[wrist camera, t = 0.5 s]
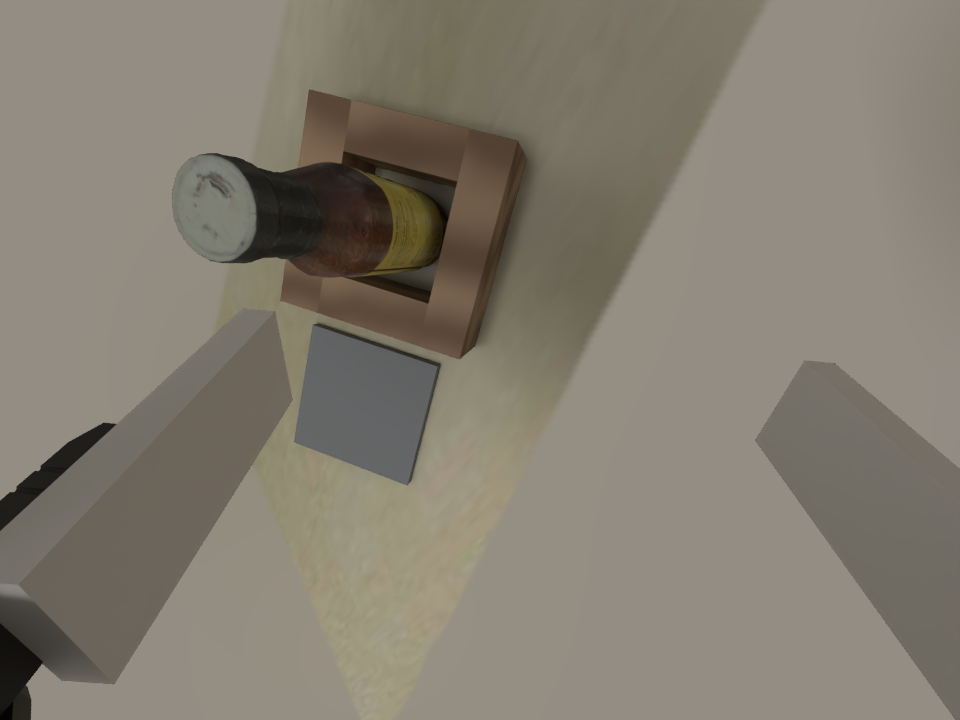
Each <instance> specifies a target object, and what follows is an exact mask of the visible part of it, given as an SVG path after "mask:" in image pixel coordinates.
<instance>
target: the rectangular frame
mask: <svg viewBox="0 0 960 720" xmlns="http://www.w3.org/2000/svg"><path fill="white" fill-rule="evenodd" d="M321 162H334V163H340V164H343V165H346V166H350V167H353V168H356V169H359V170H362V171H364V172H367V173H370V174H373V175H374V173H375V168H376V166H377V167H380V168H384V169H388V170H391V171H395V172H399V173H403V174H406V175H410V176H414V177H418V178H421V179H425V180H429V181H432V182H436V183H440V184H444V185H447V186H451V187H455V188H456V190H455V194H454V198H453V202H452V207H451V211H450V215H449V219H448V224H447V228H446V232H445V236H444V240H443V245H442V249H441V253H440V257H439V262H438V266H437V270H436V274H435V279H434V283H433V287H432V291H431V293H430V292H427V291H424V290H421V289H417V288H414V287H411V286H408V285H404V284H401V283H398V282H395V281H391V280H388V279H385V278H382V277H378V276H375V275H370V276H361V277H344V276H342V277H335V278H334V277H332V278H323V277H319V276H310V275H308V274H306V273H304V272H303V271H301V270H299V269H298V268H296V267H295V266H294V265H293V264H292V263H291V262H289V261H288V260H287V259H286V263H285V271H284V278H283V285H282V293H281V301H284V302H287V303H290V304H293V305H296V306H299V307H302V308H305V309H308V310H311V311H314V312H317V313H320V314H323V315H326V316H329V317H332V318H335V319H338V320H341V321H344V322H347V323H351V324H354V325H357V326H360V327H363V328H366V329H369V330H372V331H375V332H378V333H381V334H384V335H387V336H390V337H393V338H396V339H399V340H402V341H405V342H408V343H411V344H414V345H417V346H420V347H423V348H426V349H429V350H433V351H436V352H439V353H442V354H445V355H448V356H451V357H454V358H457V359H460V358H462V357H463V356H464V355H465V354H466V353H467V352H469V351H470V350H471V349H472V348H473V347H475V344H476V340H477V337H478V333H479V330H480V326H481V322H482V319H483V315H484V311H485V308H486V304H487V301H488V297H489V293H490V290H491V286H492V282H493V279H494V275H495V272H496V268H497V264H498V261H499V257H500V253H501V250H502V246H503V243H504V239H505V235H506V232H507V228H508V224H509V221H510V217H511V214H512V210H513V206H514V203H515V199H516V195H517V192H518V188H519V185H520V181H521V177H522V174H523V170H524V166H525V163H526V156H525V154H524V152H523V150H522V148H521V146H520V144H519V142H518V141H517V140H513V139H509V138H505V137H501V136H497V135H493V134H488V133H484V132H480V131H476V130H472V129H468V128H464V127H460V126H456V125H452V124H448V123H444V122H440V121H436V120H431V119H427V118H423V117H419V116H415V115H411V114H407V113H403V112H399V111H395V110H391V109H387V108H383V107H379V106H375V105H370V104H366V103H362V102H358V101H354V100H350V99H346V98H342V97H338V96H334V95H330V94H326V93H322V92H318V91H313V90H309V94H308V101H307V109H306V116H305V123H304V131H303V138H302V145H301V153H300V160H299V168H300V167H304V166H308V165H312V164H315V163H321Z"/></svg>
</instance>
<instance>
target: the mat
mask: <svg viewBox="0 0 960 720" xmlns="http://www.w3.org/2000/svg"><path fill="white" fill-rule="evenodd" d="M439 368H440V364H438V363H435V362H432V361H429V360H426V359H423V358H420V357H417V356H414V355H411V354H408V353H405V352H402V351H399V350H396V349H393V348H390V347H387V346H384V345H381V344H378V343H375V342H372V341H369V340H366V339H363V338H360V337H357V336H354V335H351V334H348V333H345V332H342V331H339V330H336V329H333V328H330V327H327V326H324V325H321V324H314V325H313V328H312V334H311V340H310V346H309V353H308V359H307V365H306V371H305V377H304V384H303V390H302V396H301V402H300V409H299V415H298V421H297V427H296V434H295V440H294V442H295V443H298V444H300V445H303V446H306V447H308V448H311V449H313V450H316V451H319V452H321V453H324V454H327V455H329V456H332V457H334V458H337V459H340V460H342V461H345V462H347V463H350V464H353V465H355V466H358V467H361V468H363V469H366V470H368V471H371V472H374V473H376V474H379V475H382V476H384V477H387V478H389V479H392V480H395V481H397V482H400V483H403V484H405V485H408V484H409V483H410V481H411V478H412V474H413V470H414V466H415V462H416V458H417V455H418V451H419V447H420V443H421V439H422V435H423V431H424V427H425V423H426V419H427V415H428V411H429V407H430V404H431V400H432V396H433V392H434V388H435V384H436V380H437V376H438V372H439Z"/></svg>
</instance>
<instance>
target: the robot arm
mask: <svg viewBox="0 0 960 720" xmlns="http://www.w3.org/2000/svg"><path fill="white" fill-rule="evenodd" d="M292 400H293V398H292V393H291V388H290V383H289V379H288V374H287V369H286V364H285V359H284V354H283V349H282V344H281V339H280V334H279V329H278V324H277V319H276V314H275V311H264V310H254V309H242V310H241V311H240V312H239V313H238V314H237V315H235V316H234V317H233V318H232V319H231V320H230V321H229V322H228V323H227V324H226V325H225V326H223V327H222V328H221V329H220V330H219V331H218V332H217V333H216V334H215V335H214V336H213V337H211V338H210V339H209V340H208V341H207V342H206V343H205V344H204V345H203V346H202V347H201V348H199V349H198V350H197V351H196V352H195V353H194V354H193V355H192V356H191V357H190V358H189V359H187V360H186V362H184V363H183V364H182V365H181V366H180V367H179V368H178V369H177V370H176V371H175V372H173V373H172V374H171V375H170V376H169V377H168V378H167V379H166V380H165V381H164V382H162V383H161V384H160V385H159V386H158V387H157V388H156V389H155V390H154V391H153V392H152V393H150V395H148V396H147V397H146V398H145V399H144V400H143V401H142V402H141V403H140V404H138V405H137V406H136V407H135V408H134V409H133V410H132V411H131V412H130V413H129V414H127V415H126V416H125V417H124V418H123V419H122V420H121V421H120V422H119V423H118V424H110V423H102V424H101V425H99V426H97V427H95V428H93V429H92V430H90V431H88V432H86V433H84V434H82V435H81V436H79V437H77V438H75V439H73V440H72V441H70V442H68V443H67V444H66V445H65V446H63V447H62V448H61V449H60V450H59V451H58V452H56V453H55V454H54V455H53V456H52V457H51V458H49V459H48V460H47V461H46V462H45V463H44V464H42V465H41V469H40V470H39V471H34V472H33V473H32V474H31V475H30V476H28V477H27V478H26V479H25V480H24V481H23V482H22V483H20V484H19V485H18V486H17V489H16V491H15V492H10V493H9V494H7V495H6V496H5V497H4V498H3V499H2V500H1V501H0V720H31V698H30V694H29V691H28V687H27V686H26V684H27V682H28V681H29V680H30V678H31V677H32V676H33V675H34V673H35V672H36V671H37V670H38V668H39V667H40V666H41V664H43V665H45V666H46V667H47V668H48V669H49V670H50V671H51V672H53V673H54V674H55V675H56V676H57V677H58V678H59V679H61V680H62V681H77V682H90V683H104V684H115V682H116V681H117V679H118V678H119V676H120V674H121V673H122V671H123V670H124V668H125V666H126V665H127V663H128V662H129V660H130V658H131V657H132V655H133V654H134V652H135V650H136V649H137V647H138V646H139V644H140V643H141V641H142V639H143V637H144V636H145V635H146V633H147V631H148V630H149V628H150V627H151V625H152V623H153V622H154V620H155V619H156V617H157V615H158V614H159V612H160V611H161V609H162V607H163V606H164V604H165V603H166V601H167V600H168V598H169V596H170V595H171V593H172V592H173V590H174V588H175V587H176V585H177V584H178V582H179V580H180V579H181V577H182V576H183V574H184V572H185V571H186V569H187V568H188V566H189V564H190V563H191V561H192V560H193V558H194V556H195V555H196V553H197V551H198V550H199V548H200V547H201V545H202V544H203V542H204V541H205V539H206V537H207V536H208V534H209V533H210V531H211V529H212V528H213V526H214V525H215V523H216V521H217V520H218V518H219V517H220V515H221V513H222V512H223V510H224V508H225V507H226V505H227V504H228V502H229V500H230V499H231V497H232V496H233V494H234V493H235V491H236V489H237V488H238V486H239V485H240V483H241V482H242V480H243V478H244V477H245V475H246V474H247V472H248V470H249V469H250V467H251V466H252V464H253V462H254V461H255V459H256V458H257V456H258V454H259V453H260V451H261V450H262V448H263V446H264V445H265V443H266V442H267V440H268V439H269V437H270V435H271V434H272V432H273V431H274V429H275V427H276V426H277V424H278V423H279V421H280V419H281V418H282V416H283V415H284V413H285V411H286V410H287V408H288V407H289V405H290V403H291V402H292ZM756 442H757V444H758V445H759V447H760V448H761V449H762V451H763V452H764V453H765V455H766V456H767V457H768V459H769V460H770V462H771V463H772V464H773V466H774V467H775V469H776V470H777V472H778V473H779V474H780V476H781V477H782V479H783V480H784V481H785V483H786V484H787V486H788V487H789V488H790V490H791V491H792V492H793V494H794V495H795V497H796V498H797V500H798V501H799V502H800V504H801V505H802V507H803V508H804V509H805V511H806V512H807V513H808V515H809V516H810V518H811V519H812V520H813V522H814V523H815V524H816V526H817V527H818V529H819V530H820V532H821V533H822V534H823V536H824V537H825V539H827V541H828V543H829V544H830V545H831V547H832V548H833V550H834V551H835V553H836V554H837V555H838V557H839V558H840V560H841V561H842V562H843V564H844V565H845V566H846V568H847V569H848V571H849V572H850V573H851V575H852V576H853V578H854V579H855V580H856V582H857V583H858V585H859V586H860V587H861V589H862V590H863V592H864V593H865V594H866V596H867V597H868V599H869V600H870V601H871V603H872V604H873V606H874V607H875V608H876V610H877V611H878V613H879V614H880V615H881V617H882V618H883V619H884V621H885V622H886V624H887V625H888V627H889V628H890V629H891V631H892V632H893V633H894V635H895V636H896V638H897V639H898V640H899V642H900V643H901V645H902V646H903V647H904V649H905V650H906V652H907V653H908V654H909V656H910V657H911V659H912V660H913V661H914V663H915V664H916V665H917V667H918V668H919V670H920V671H921V672H922V674H923V675H924V677H925V678H926V679H927V681H928V682H929V684H930V685H931V686H932V688H933V689H934V691H935V692H936V693H937V695H938V696H939V698H940V699H941V700H942V702H943V703H944V705H945V706H946V707H947V709H948V710H949V712H950V713H951V714H952V716H953V717H954V719H955V720H960V469H959V468H958V467H957V466H956V465H955V464H953V463H952V462H951V461H950V460H949V459H948V458H946V457H945V456H944V455H943V454H942V453H940V452H939V451H938V450H937V449H935V448H934V447H933V446H932V445H931V444H930V443H928V442H927V441H926V440H925V439H924V438H923V437H921V436H920V435H919V434H918V433H917V432H915V431H914V430H913V429H912V428H911V427H910V426H908V425H907V424H906V423H905V422H904V421H902V420H901V419H900V418H899V417H898V416H896V415H895V414H894V413H893V412H892V411H891V410H889V409H888V408H887V407H886V406H885V405H883V404H882V403H881V402H880V401H879V400H877V399H876V398H875V397H874V396H873V395H871V394H870V393H869V392H868V391H867V390H865V389H864V388H863V387H862V386H861V385H860V384H858V383H857V382H856V381H855V380H854V379H853V378H851V377H850V376H849V375H848V374H847V373H845V372H844V371H843V370H842V369H841V368H839V367H838V366H837V365H836V364H835V363H824V362H814V361H804V363H803V364H802V366H801V367H800V369H799V371H798V372H797V374H796V375H795V377H794V379H793V380H792V382H791V383H790V385H789V387H788V388H787V390H786V392H785V393H784V395H783V396H782V398H781V400H780V401H779V403H778V404H777V406H776V408H775V409H774V411H773V412H772V414H771V416H770V417H769V419H768V421H767V422H766V424H765V425H764V427H763V429H762V430H761V432H760V433H759V435H758V436H757V438H756Z"/></svg>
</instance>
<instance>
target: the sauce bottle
mask: <svg viewBox="0 0 960 720" xmlns="http://www.w3.org/2000/svg"><path fill="white" fill-rule="evenodd" d="M172 191H173V192H172V208H173V216H174V220H175V222H176V225H177V228H178V230H179V232H180V234H181V235H182V237H183V239H184V240H185V241H186V242H187V244H188V245H189V246H190V247H191V248H192V249H193V250H194V251H195V252H197V253H198V254H199V255H201V256H203V257H205V258H207V259H208V260H210V261H215V262H220V263H248V262H253V261H255V260H258V259H261V258H273V257H278V258H280V259H287V260H288V261H289V262H291V263H292V264H293V265H294V266H295V267H296V268H298V269H299V270H301V271H303V272H304V273H306V274H308V275H310V276H319V277H323V278H332V277H334V278H335V277H342V276H344V277H361V276H370V275H379V274H389V273H397V272H406V271H414V270H418V269H421V268H422V267H424V266H429V265H430V264H432V263H433V262H434V261H435V260H436V259H437V258H438V257H439V256H440V253H441V249H442V245H443V240H444V236H445V232H446V228H447V223H446V219H445V217H444V214H443V211H442V210H441V208H440V207H439V205H438V204H436V203H435V202H434V201H433V200H431V199H430V198H429V197H428V196H427V195H425V194H424V193H422V192H421V191H419V190H417V189H414V188H410V187H407V186H405V185H402V184H399V183H396V182H393V181H391V180H389V179H384V178H381V177H379V176H376V175H373V174H370V173H367V172H364V171H362V170H359V169H356V168H353V167H350V166H346V165H343V164H340V163H334V162H321V163H315V164H312V165H308V166H304V167H300V168H297V169H293V170H289V171H286V172H282V173H281V172H280V173H279V172H275V173H274V172H271V171H267V170H263V169H261V168H257V167H256V166H254V165H253V164H251V163H249V162H247V161H245V160H243V159H240V158H237V157H231V156H225V155H221V154H218V153H209V154H201V155H198V156H196V157H193V158H190V159H189V160H188V161H187V162H185V163H184V164H183V165H182V166H181V168H180V170H179V171H178V173H177V176H176V179H175V182H174V186H173V190H172Z"/></svg>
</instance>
